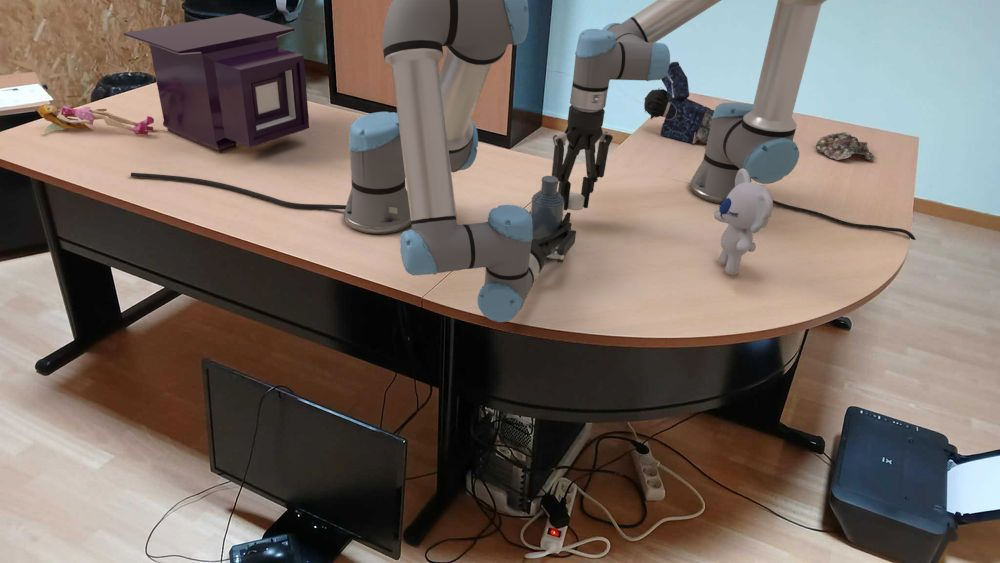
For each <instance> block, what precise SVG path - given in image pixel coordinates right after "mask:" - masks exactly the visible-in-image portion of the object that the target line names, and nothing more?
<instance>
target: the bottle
mask: <svg viewBox="0 0 1000 563" xmlns="http://www.w3.org/2000/svg"><path fill="white" fill-rule="evenodd" d="M558 187H559V181H558V178H557V177H554V176H552V175H544V176H542V177H541V187H540V190H538V191H537V192H536V193H534V194H533V195H532V197H531V203H530V210H531V211H530V210H529V212H530V214H531V216H532V225H533V231H532V236H533V238H532V239H535V240H540V239H542V238H543V237H548V236H550V235H552V234H553V233H555V232H556V231H558V230H560V224H561V223H562V221H563V219H564V211H565V210H564V199H563V197H562V196H561V195H560V194H559V193H558ZM556 247H559V245H558V246H556ZM556 247H555V248H553V249H551V250H550V251H551V252H553V251H554V250H556ZM552 260H554V259H553V258H550V260H549V261H552Z"/></svg>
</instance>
